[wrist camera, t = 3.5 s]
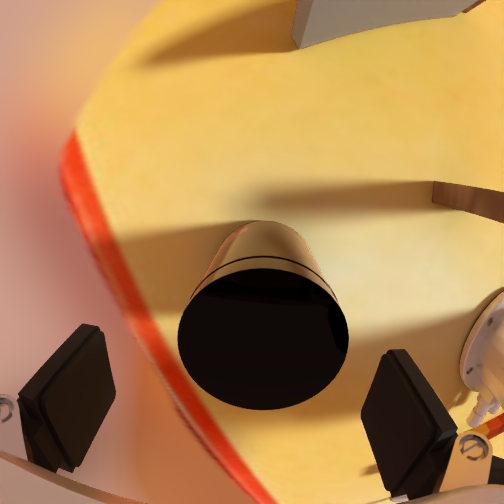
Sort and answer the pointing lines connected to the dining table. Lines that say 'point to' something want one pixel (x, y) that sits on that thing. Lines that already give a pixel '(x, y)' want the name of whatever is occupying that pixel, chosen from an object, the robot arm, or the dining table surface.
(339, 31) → the door
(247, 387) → the supplement container
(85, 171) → the dining table surface
